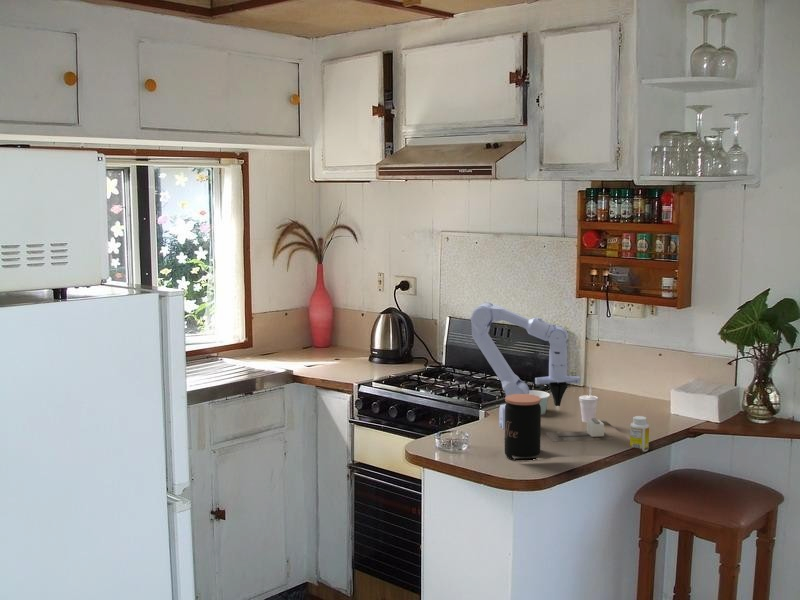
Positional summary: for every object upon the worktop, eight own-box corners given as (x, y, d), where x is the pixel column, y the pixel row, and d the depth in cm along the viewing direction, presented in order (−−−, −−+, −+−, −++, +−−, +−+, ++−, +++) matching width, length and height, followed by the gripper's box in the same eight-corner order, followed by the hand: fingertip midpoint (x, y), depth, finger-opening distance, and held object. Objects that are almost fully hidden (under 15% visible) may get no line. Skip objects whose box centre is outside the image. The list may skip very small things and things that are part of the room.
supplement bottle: (644, 447, 284) (645, 414, 283) (651, 452, 278) (652, 419, 277) (627, 447, 283) (628, 415, 282) (633, 453, 278) (634, 420, 277)
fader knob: (591, 436, 289) (591, 422, 288) (586, 432, 294) (587, 418, 293) (603, 436, 289) (604, 422, 289) (598, 431, 294) (599, 417, 294)
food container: (547, 407, 333) (547, 390, 332) (552, 416, 321) (552, 398, 320) (514, 407, 333) (514, 390, 332) (517, 416, 321) (517, 398, 320)
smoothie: (597, 428, 305) (598, 387, 303) (578, 427, 306) (579, 386, 304) (597, 423, 311) (598, 383, 309) (578, 422, 313) (579, 382, 311)
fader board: (553, 446, 285) (553, 441, 285) (544, 437, 295) (545, 432, 295) (612, 444, 287) (612, 439, 287) (602, 435, 297) (602, 430, 297)
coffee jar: (501, 451, 280) (502, 394, 278) (535, 450, 281) (536, 393, 278) (508, 462, 270) (508, 402, 267) (543, 461, 270) (544, 401, 268)
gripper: (539, 367, 292) (538, 409, 294) (583, 366, 293) (582, 407, 295) (533, 362, 299) (533, 403, 301) (577, 361, 300) (576, 402, 302)
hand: (557, 405), depth 298 cm, fingers closed
